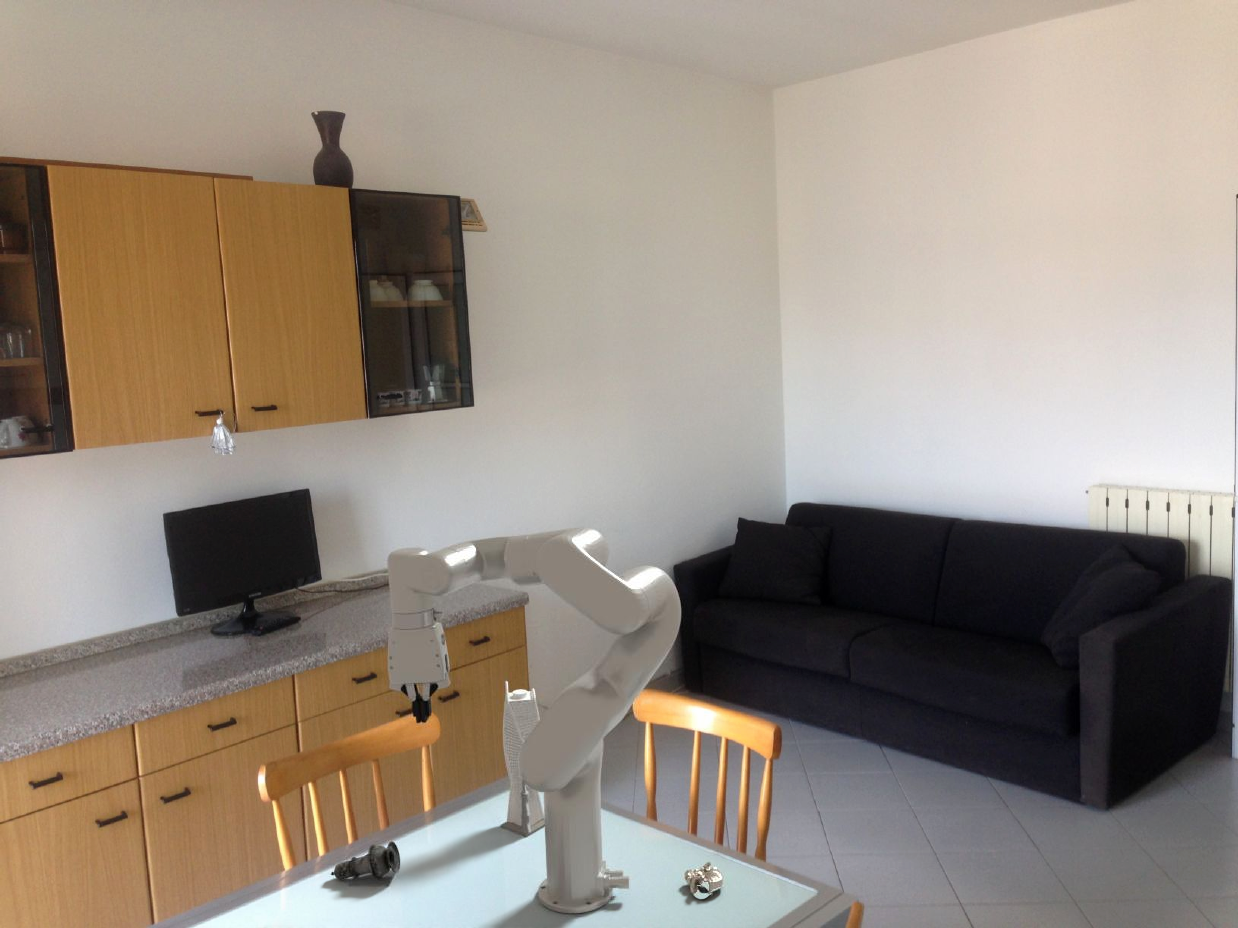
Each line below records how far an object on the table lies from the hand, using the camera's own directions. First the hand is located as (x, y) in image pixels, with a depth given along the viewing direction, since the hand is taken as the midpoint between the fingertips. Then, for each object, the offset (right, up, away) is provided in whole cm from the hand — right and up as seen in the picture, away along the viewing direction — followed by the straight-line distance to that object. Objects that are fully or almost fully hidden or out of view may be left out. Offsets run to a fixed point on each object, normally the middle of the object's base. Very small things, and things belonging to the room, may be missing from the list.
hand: (422, 719), depth 183 cm
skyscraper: (+16, -25, +19) cm, 35 cm away
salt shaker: (-5, -24, -1) cm, 24 cm away
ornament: (+49, -27, -7) cm, 57 cm away
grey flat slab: (-9, -28, 0) cm, 29 cm away
